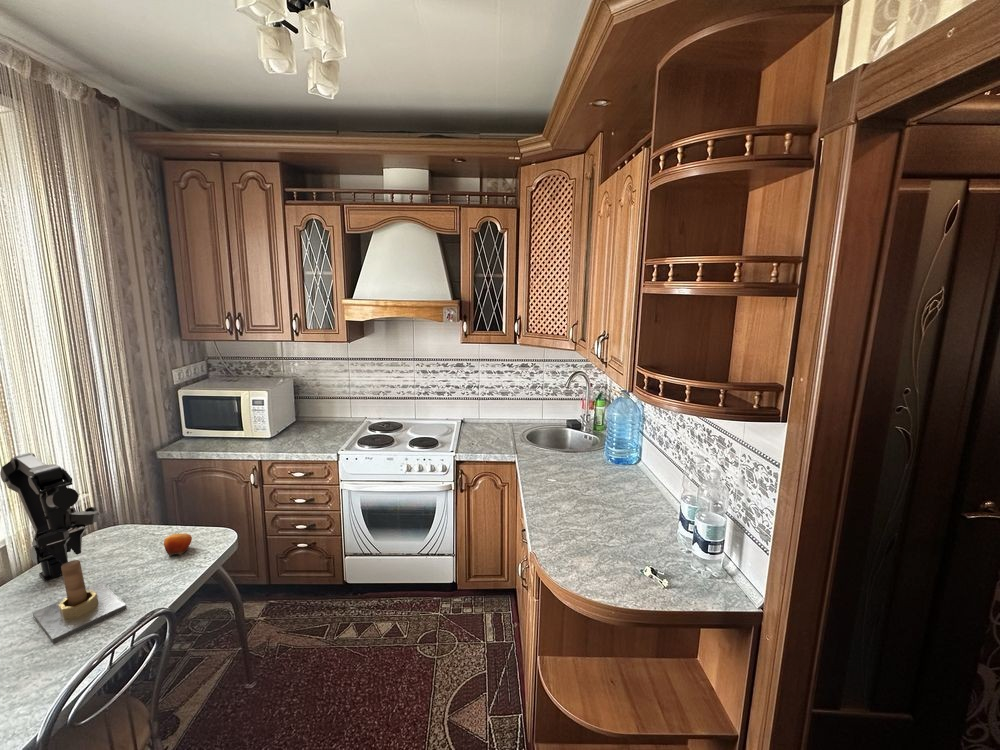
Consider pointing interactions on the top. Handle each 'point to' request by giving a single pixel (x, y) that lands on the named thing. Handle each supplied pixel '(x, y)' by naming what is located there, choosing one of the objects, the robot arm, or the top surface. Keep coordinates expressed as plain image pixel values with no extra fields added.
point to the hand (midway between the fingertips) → (72, 558)
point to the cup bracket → (78, 613)
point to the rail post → (74, 582)
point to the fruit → (177, 543)
